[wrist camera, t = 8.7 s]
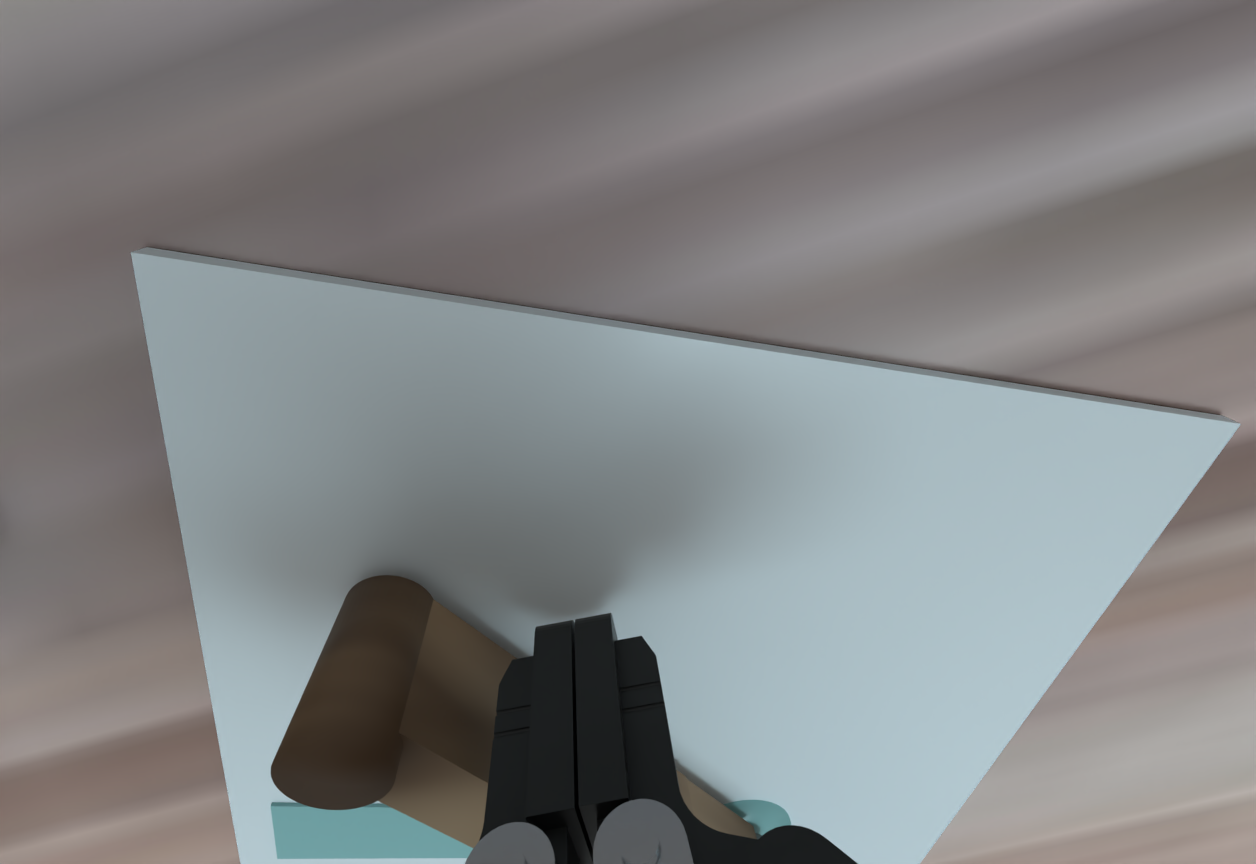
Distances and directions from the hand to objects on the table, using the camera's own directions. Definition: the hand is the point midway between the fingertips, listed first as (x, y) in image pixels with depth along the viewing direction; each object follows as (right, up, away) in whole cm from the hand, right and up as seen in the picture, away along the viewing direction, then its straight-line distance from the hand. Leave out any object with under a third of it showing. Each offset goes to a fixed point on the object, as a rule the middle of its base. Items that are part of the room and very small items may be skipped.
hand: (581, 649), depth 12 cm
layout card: (+1, -6, +6) cm, 8 cm away
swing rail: (0, -4, +3) cm, 5 cm away
